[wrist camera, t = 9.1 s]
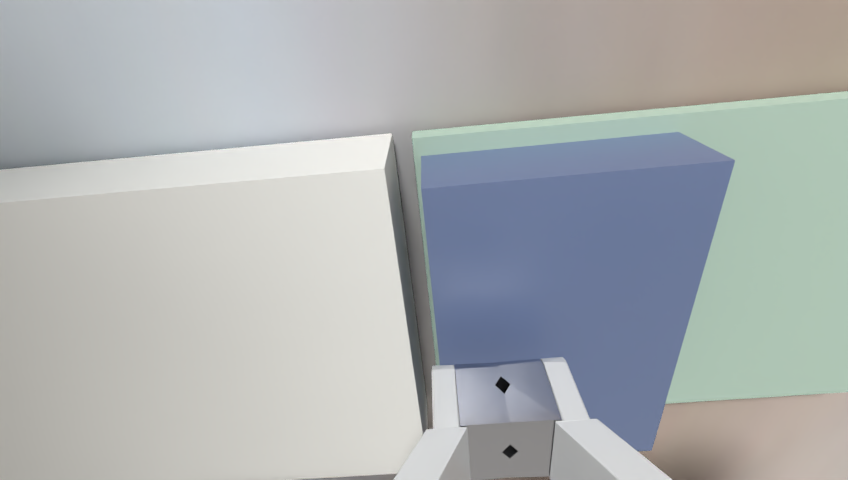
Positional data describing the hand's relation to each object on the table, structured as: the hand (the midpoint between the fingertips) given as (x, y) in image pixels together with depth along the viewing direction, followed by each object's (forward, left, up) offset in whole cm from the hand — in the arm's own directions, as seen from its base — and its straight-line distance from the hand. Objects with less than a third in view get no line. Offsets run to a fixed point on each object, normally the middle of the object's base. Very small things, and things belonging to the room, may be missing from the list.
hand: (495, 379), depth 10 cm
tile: (0, +2, -3) cm, 3 cm away
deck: (0, -10, -3) cm, 11 cm away
